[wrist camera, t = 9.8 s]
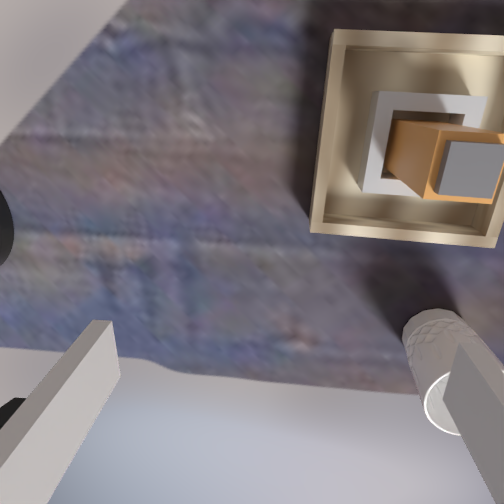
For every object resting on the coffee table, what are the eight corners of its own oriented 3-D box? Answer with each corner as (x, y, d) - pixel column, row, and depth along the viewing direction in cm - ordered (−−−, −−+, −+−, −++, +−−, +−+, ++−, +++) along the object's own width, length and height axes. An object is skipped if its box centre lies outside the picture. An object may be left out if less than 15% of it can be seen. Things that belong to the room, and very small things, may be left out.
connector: (382, 165, 33) (427, 202, 22) (390, 118, 32) (444, 131, 20) (427, 168, 33) (498, 207, 21) (438, 121, 32) (521, 136, 20)
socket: (357, 184, 34) (362, 192, 32) (372, 91, 31) (379, 90, 29) (446, 191, 34) (459, 199, 31) (470, 96, 31) (487, 96, 28)
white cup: (400, 367, 43) (428, 440, 34) (391, 309, 40) (419, 372, 31) (473, 357, 41) (523, 432, 32) (470, 297, 39) (523, 359, 29)
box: (308, 218, 37) (310, 232, 34) (330, 36, 31) (334, 28, 27) (474, 232, 36) (494, 248, 32) (531, 45, 30) (565, 38, 26)
